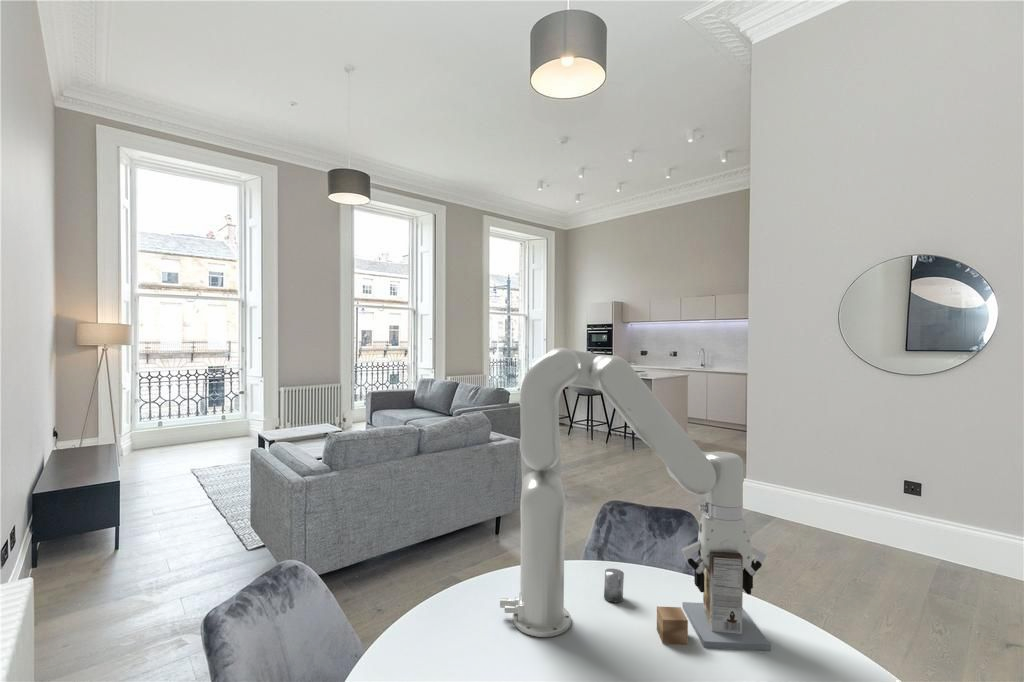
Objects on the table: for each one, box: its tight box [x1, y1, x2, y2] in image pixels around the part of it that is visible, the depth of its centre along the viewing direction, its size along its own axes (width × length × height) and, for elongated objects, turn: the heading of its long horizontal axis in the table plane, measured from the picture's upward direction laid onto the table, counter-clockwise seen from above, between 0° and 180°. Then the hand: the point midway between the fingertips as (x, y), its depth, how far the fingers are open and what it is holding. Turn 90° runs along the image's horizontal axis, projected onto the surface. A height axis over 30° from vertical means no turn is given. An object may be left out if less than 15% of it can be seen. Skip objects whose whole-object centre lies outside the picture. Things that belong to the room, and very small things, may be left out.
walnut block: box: [656, 606, 689, 646], centre depth 100 cm, size 5×5×5 cm
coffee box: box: [702, 552, 744, 634], centre depth 104 cm, size 9×6×16 cm
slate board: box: [682, 601, 772, 651], centre depth 104 cm, size 13×15×1 cm
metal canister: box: [603, 568, 625, 603], centre depth 116 cm, size 4×4×6 cm
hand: (723, 590), depth 104 cm, fingers open, 9 cm apart
